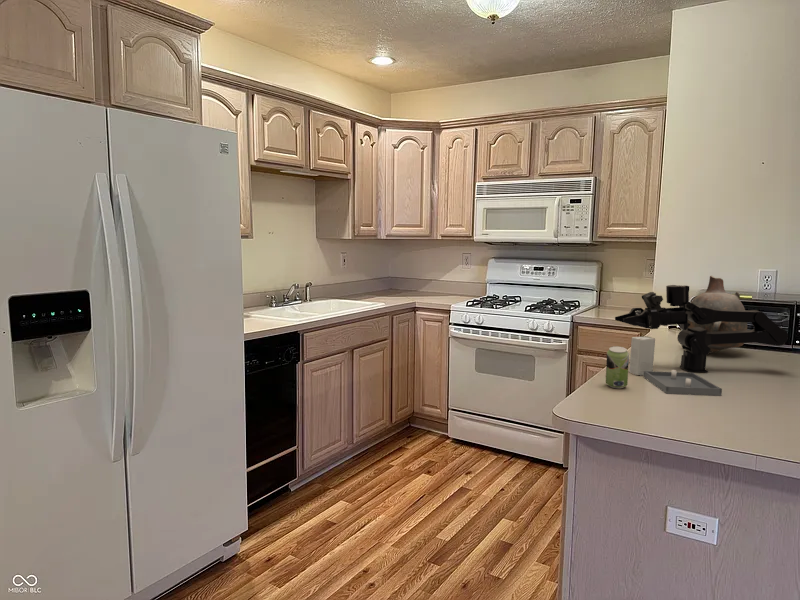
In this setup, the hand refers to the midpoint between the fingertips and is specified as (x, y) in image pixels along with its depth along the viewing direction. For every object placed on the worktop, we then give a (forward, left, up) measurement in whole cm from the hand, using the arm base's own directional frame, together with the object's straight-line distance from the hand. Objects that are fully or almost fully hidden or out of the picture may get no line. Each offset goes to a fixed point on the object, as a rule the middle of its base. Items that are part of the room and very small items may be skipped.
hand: (619, 319), depth 182 cm
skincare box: (-5, +8, -17) cm, 19 cm away
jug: (-45, -30, -17) cm, 57 cm away
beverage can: (+8, +25, -17) cm, 31 cm away
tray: (-12, +21, -17) cm, 30 cm away
